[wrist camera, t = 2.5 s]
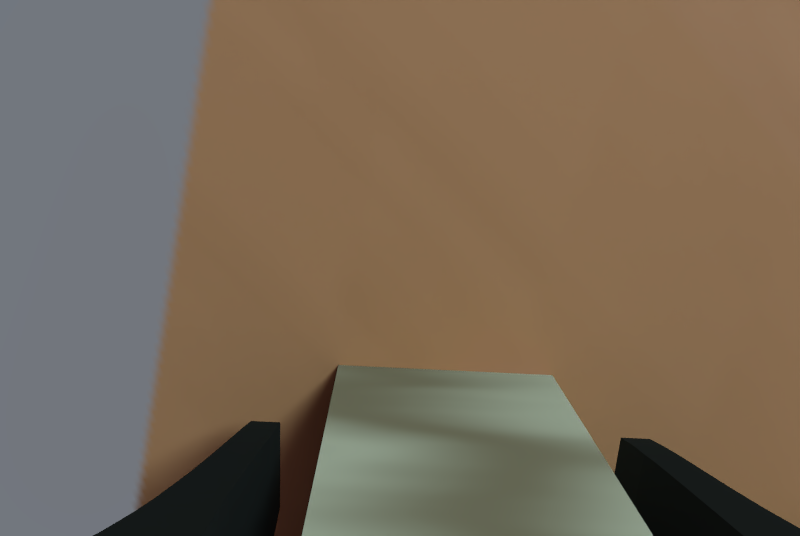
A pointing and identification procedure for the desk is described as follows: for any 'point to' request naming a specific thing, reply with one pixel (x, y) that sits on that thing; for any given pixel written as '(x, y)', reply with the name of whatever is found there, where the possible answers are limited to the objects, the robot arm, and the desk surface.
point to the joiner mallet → (460, 459)
